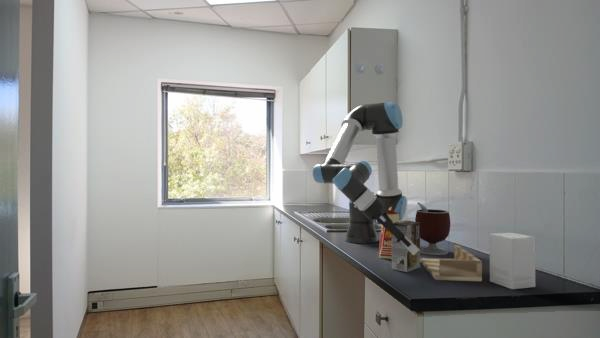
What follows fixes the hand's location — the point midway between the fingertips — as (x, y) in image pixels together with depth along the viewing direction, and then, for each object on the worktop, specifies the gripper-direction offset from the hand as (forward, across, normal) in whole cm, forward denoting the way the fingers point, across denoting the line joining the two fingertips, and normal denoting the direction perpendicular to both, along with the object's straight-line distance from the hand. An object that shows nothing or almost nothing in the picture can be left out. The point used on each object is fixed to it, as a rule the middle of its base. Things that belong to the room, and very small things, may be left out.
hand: (412, 248), depth 134 cm
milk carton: (+1, -18, -9) cm, 20 cm away
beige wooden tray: (+13, +1, +3) cm, 14 cm away
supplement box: (+24, +15, +14) cm, 31 cm away
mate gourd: (+14, -29, +4) cm, 32 cm away
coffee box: (+3, 0, -7) cm, 8 cm away
